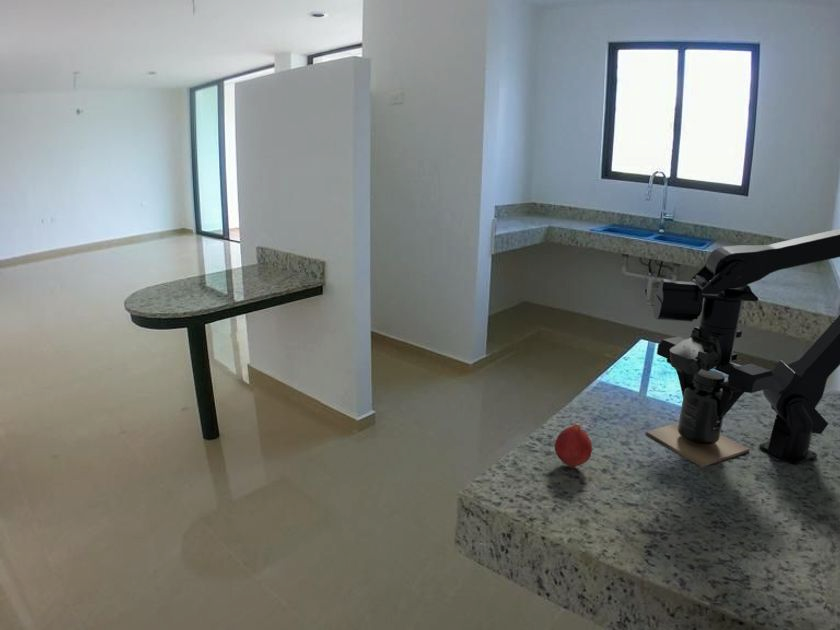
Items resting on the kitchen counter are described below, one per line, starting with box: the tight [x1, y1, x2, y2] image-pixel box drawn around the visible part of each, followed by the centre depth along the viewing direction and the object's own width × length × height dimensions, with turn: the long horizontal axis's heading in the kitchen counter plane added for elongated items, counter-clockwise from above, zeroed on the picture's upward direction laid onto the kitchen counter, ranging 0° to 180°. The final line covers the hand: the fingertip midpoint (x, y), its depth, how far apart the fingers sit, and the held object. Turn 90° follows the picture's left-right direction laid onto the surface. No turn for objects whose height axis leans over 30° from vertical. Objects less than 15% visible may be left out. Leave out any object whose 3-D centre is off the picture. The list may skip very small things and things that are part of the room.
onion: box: [554, 422, 593, 469], centre depth 93 cm, size 6×6×8 cm
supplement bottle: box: [678, 369, 726, 445], centre depth 100 cm, size 7×7×12 cm
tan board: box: [645, 422, 750, 468], centre depth 102 cm, size 12×12×1 cm
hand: (703, 407), depth 100 cm, fingers open, 7 cm apart
